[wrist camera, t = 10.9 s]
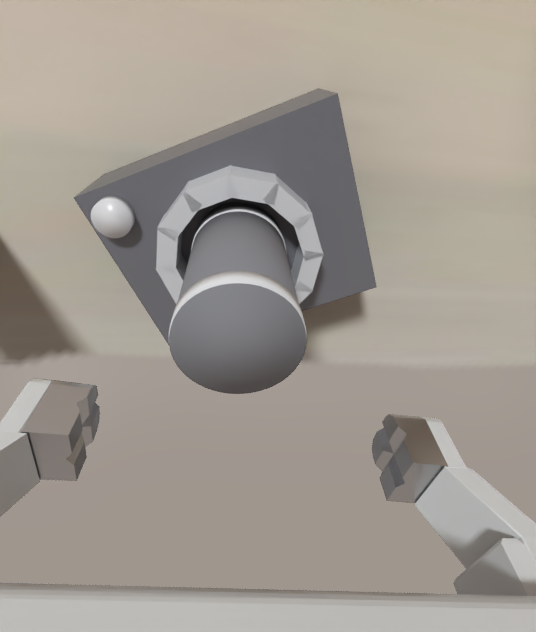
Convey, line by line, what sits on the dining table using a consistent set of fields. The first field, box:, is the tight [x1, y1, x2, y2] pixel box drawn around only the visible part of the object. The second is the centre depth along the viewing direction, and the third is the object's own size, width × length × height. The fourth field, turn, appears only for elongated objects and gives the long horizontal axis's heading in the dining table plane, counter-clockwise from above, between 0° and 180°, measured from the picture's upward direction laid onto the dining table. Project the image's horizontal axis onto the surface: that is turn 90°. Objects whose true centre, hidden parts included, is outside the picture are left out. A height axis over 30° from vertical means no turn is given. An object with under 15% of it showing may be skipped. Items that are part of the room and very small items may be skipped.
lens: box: [169, 202, 307, 394], centre depth 17 cm, size 5×5×9 cm
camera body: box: [74, 89, 376, 345], centre depth 22 cm, size 14×11×7 cm
